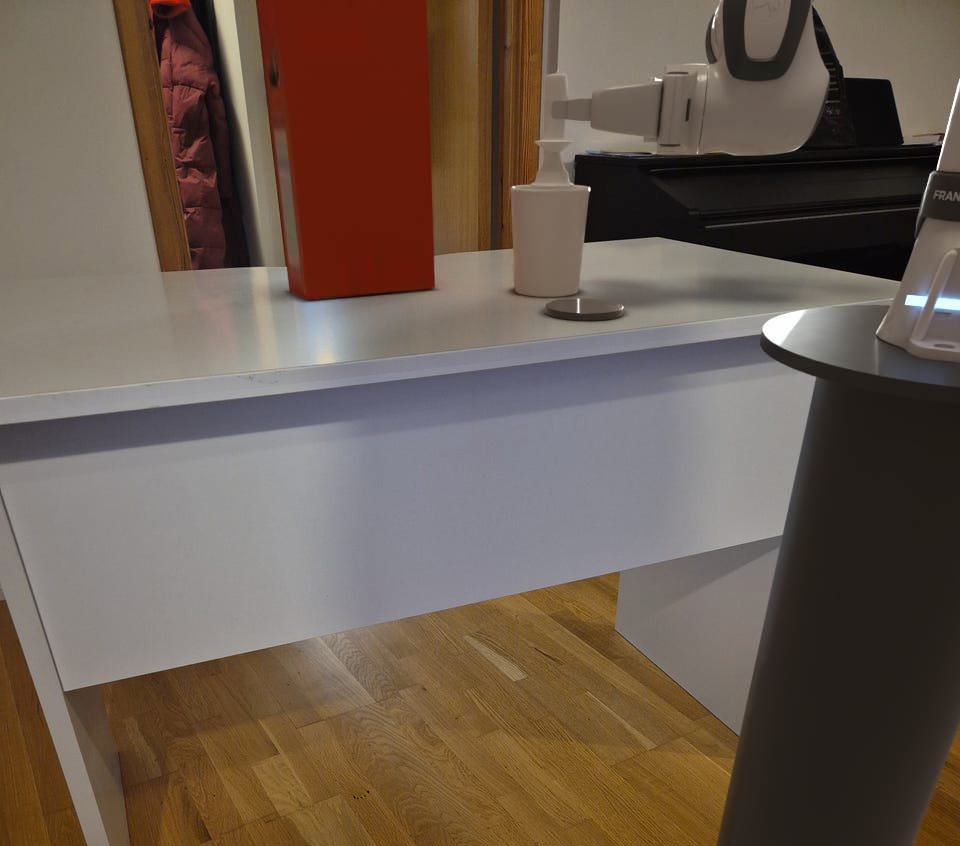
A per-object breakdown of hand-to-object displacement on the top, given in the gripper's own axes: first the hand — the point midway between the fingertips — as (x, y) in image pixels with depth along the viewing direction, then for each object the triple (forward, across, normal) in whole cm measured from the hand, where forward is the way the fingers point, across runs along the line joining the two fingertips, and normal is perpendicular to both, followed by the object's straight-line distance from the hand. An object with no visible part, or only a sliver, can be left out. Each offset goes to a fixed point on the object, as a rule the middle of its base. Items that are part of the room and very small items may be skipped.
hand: (555, 110), depth 98 cm
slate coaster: (-6, +13, +20) cm, 24 cm away
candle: (0, -1, +8) cm, 8 cm away
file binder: (+24, +3, +20) cm, 32 cm away
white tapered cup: (0, 0, +20) cm, 20 cm away
